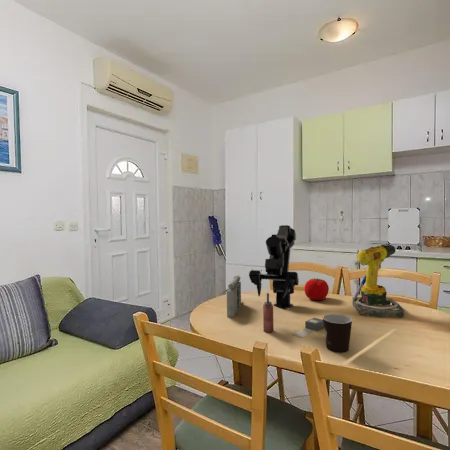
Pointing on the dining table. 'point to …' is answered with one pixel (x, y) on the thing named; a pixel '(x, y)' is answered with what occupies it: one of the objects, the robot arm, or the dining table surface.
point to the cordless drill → (375, 285)
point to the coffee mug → (337, 332)
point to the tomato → (316, 289)
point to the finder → (314, 324)
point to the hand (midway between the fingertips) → (270, 296)
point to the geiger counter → (233, 296)
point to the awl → (268, 316)
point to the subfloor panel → (303, 333)
